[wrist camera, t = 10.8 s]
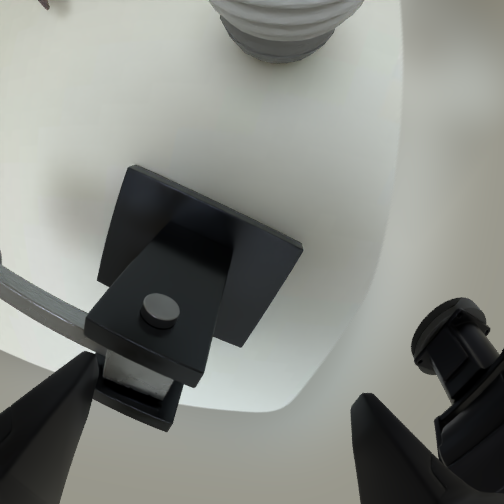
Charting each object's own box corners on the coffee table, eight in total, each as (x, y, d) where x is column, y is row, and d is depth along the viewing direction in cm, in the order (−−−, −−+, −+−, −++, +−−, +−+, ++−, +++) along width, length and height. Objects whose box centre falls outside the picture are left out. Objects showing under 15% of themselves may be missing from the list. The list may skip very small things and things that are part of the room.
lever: (-26, 259, 11) (-62, 291, 8) (-26, 204, 10) (-72, 231, 7) (170, 362, 14) (157, 419, 11) (193, 313, 13) (180, 375, 9)
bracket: (103, 273, 21) (18, 372, 11) (135, 163, 18) (8, 218, 7) (242, 338, 23) (227, 468, 12) (302, 243, 19) (335, 373, 9)
